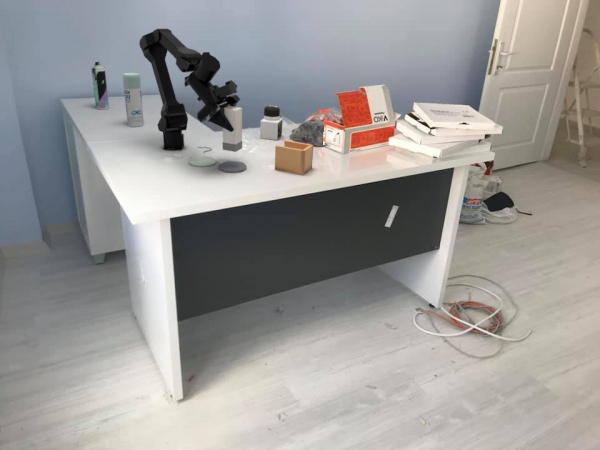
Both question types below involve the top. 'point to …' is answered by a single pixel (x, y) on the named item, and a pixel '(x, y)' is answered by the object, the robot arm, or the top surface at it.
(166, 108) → the robot arm
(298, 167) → the chute
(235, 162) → the pad dark
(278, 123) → the medicine bottle
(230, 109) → the tall white pillar block
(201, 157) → the pad pale
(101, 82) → the spray can
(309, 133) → the mineral rock
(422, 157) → the top surface
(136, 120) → the spray paint can
